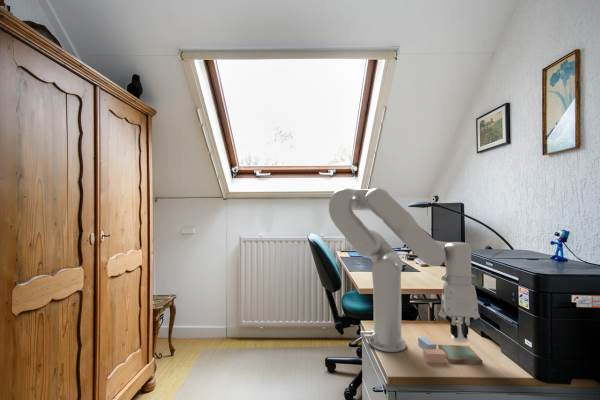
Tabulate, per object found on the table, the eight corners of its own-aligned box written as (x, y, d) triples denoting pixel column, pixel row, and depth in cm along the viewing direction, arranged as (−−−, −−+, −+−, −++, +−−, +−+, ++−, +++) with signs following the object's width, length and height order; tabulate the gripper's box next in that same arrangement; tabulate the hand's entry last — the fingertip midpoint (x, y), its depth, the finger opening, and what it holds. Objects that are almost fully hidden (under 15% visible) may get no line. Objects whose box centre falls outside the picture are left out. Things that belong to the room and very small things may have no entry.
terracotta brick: (426, 363, 98) (426, 353, 98) (423, 358, 101) (423, 349, 101) (446, 363, 98) (445, 354, 98) (442, 358, 101) (442, 349, 101)
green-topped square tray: (448, 362, 98) (448, 358, 98) (438, 348, 108) (438, 344, 108) (482, 364, 97) (482, 360, 97) (468, 349, 107) (468, 345, 107)
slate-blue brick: (436, 353, 105) (436, 344, 105) (428, 354, 104) (428, 345, 104) (425, 345, 111) (425, 336, 111) (418, 346, 110) (418, 337, 110)
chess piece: (470, 343, 99) (469, 311, 100) (453, 342, 100) (453, 310, 101) (465, 336, 104) (464, 306, 104) (449, 335, 105) (448, 306, 105)
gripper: (436, 282, 100) (437, 340, 100) (490, 283, 98) (491, 342, 98) (429, 277, 107) (430, 330, 107) (479, 277, 105) (480, 332, 105)
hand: (459, 335), depth 102 cm, fingers closed on chess piece
